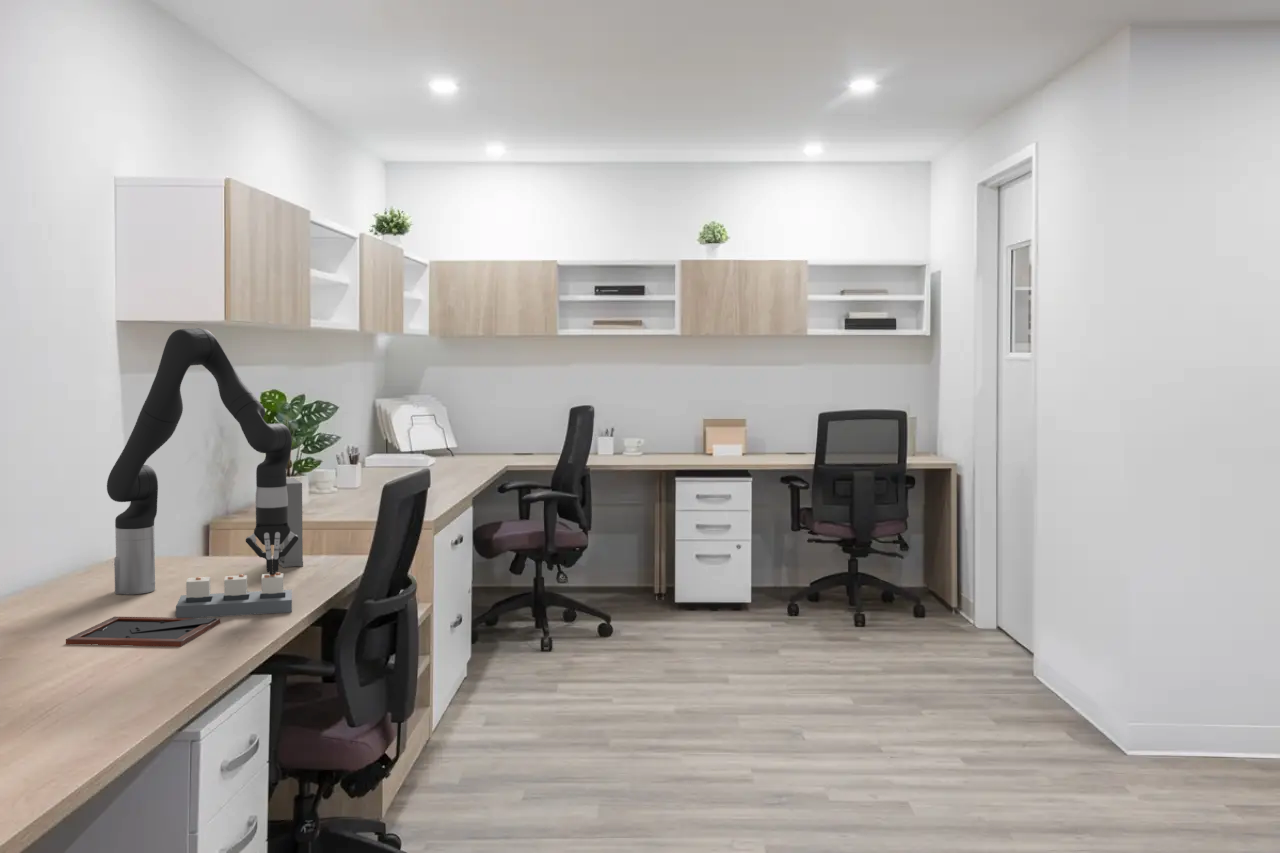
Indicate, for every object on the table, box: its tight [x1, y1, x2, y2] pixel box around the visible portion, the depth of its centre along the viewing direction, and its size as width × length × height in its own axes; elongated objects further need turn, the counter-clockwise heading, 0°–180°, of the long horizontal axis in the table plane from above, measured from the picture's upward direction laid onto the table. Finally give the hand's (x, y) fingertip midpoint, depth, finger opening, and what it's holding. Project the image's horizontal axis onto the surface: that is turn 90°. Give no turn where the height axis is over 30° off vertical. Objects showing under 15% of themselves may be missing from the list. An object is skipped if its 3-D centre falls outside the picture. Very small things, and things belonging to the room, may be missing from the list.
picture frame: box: [65, 616, 221, 648], centre depth 234 cm, size 20×2×25 cm
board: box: [175, 589, 293, 618], centre depth 256 cm, size 26×12×3 cm, turn 108°
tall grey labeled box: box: [279, 477, 304, 569], centre depth 314 cm, size 14×6×25 cm, turn 28°
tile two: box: [223, 573, 248, 596], centre depth 256 cm, size 5×5×5 cm
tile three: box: [261, 571, 284, 594], centre depth 259 cm, size 5×5×5 cm
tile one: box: [185, 576, 211, 598], centre depth 253 cm, size 5×5×5 cm
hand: (272, 573), depth 258 cm, fingers closed
